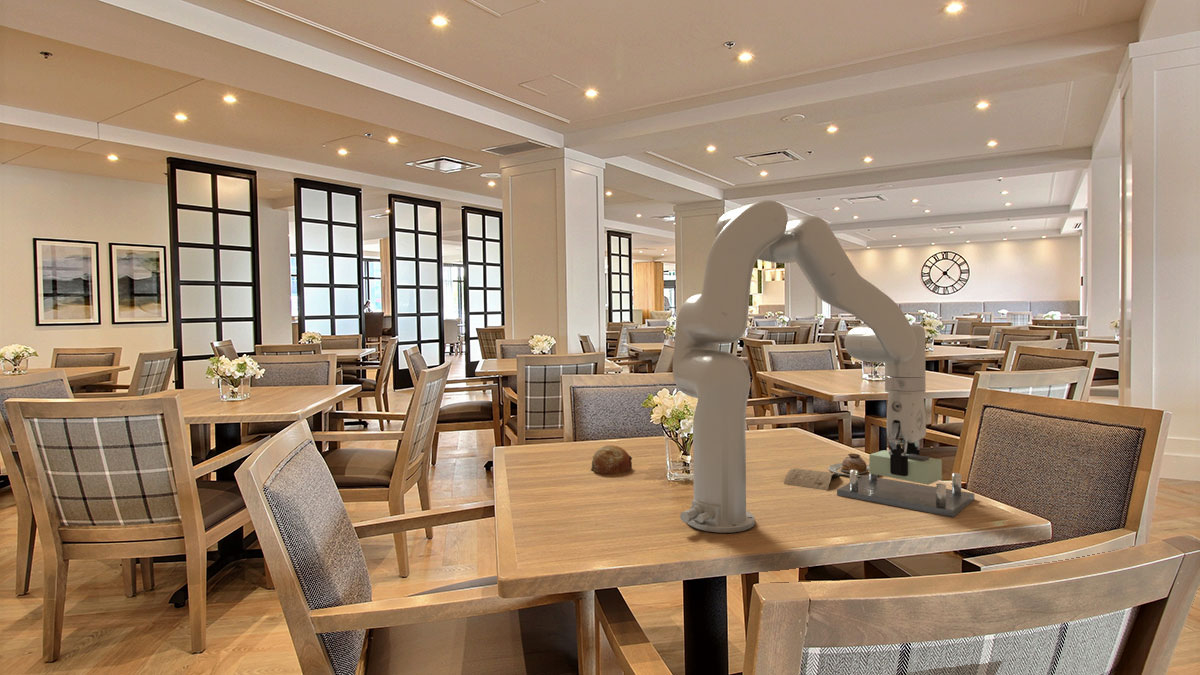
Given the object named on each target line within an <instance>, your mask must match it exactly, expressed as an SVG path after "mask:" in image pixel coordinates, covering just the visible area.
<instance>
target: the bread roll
mask: <svg viewBox="0 0 1200 675" xmlns="http://www.w3.org/2000/svg"><path fill="white" fill-rule="evenodd" d="M632 460H633V457H632V456H631V455H630V454H629V453H628V452H627V450H625V449H624V448H622V447H620V446H618V445H612V444H607V445H604V446H602V447H601V446H600V448H599V449H597V450H596V452H594V454H593V456H592V461H591V468H590V470H591V471H593V472H594V473H597V474H599V473H601V474H600V475H620V474H625V473H628V472H630V471H631V469H632V467H633V463H632ZM629 470H630V471H629ZM619 473H620V474H619Z"/></svg>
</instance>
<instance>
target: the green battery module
mask: <svg viewBox="0 0 1200 675" xmlns="http://www.w3.org/2000/svg"><path fill="white" fill-rule="evenodd" d="M906 456H908V475H907V476H900V475H894V474H891V473H890V449H888V450H886V449H885V450H879V451H877V452H873V453H870V454H869V455H868V457H869V461H868V465H869V471H868V473H869V472H870V473H871V474H876V475H877V476H881V477H882V476H883V477H886V478H890V479H891V478H892V479H896V480H901V481H905V482H910V483H915V484H921V485H926V486H930V485H931V484H934V483H936V482H939V481H941V480H943V475H942V474H943V467H942V466H943V460H942V459H940V458H936V457H935V458H934V457H930V456H929V455H928V456H927V455H916V454H906Z"/></svg>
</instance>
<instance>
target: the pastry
mask: <svg viewBox="0 0 1200 675" xmlns="http://www.w3.org/2000/svg"><path fill="white" fill-rule="evenodd" d="M840 468H841V469H840ZM838 469H839V470H840V472H839V470H838ZM828 470H829V471H830V473H833V472H834V473H838V474H839V476H843V475H844V477H850V474H849V473H850V470H858V478H859V477H860V478H861V477H862V476H863V475H864V474H866V473H869V464H867V463H866V461H865V459H863V458H862V457H861V455H860V454H858V453H848V455H847V456H846V457H845V458H843V460H842V462H838V463H834V464H831V465H830V466H828ZM837 470H838V471H837ZM845 472H846V473H845ZM865 476H869V474H867V475H865Z"/></svg>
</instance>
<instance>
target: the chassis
mask: <svg viewBox="0 0 1200 675" xmlns="http://www.w3.org/2000/svg"><path fill="white" fill-rule="evenodd" d="M849 475H850V476H849V483H847V484H844V485H843V486H840V487H839V488H837V489H836V496H838V497H844V498H850V499H856V500H859V501H860V500H861V501H865V502H866V501H867V502H871V503H875V504H882V505H887V506H892V507H898V508H903V509H908V510H912V511H919V512H924V513H929V514H934V515H940V516H944V517H945V516H946V517H949V518H955V517H956V516H957V515H958V514H959V513H960V512H962V511H963V510H964V509H965V508H966V507H967V506H969V504H971V503H972V502H973V501H974V500H975V492H968V491H962V473H960V472H959V473H958V472H952V473H951V489H948V488H947V485H946V484H945V483H936V486H932V485H931V486H930V485H927V484H921V483H915V482H909V481H903V480H901V481H900V480H895V479H888V478H884V477H883V478H882V477H878V475H876V474H871V473H870V472H869V471H868V475H869V476H866V475H864V474H863V475H861V476H862V477H861V478H859V477H858V470H850V474H849Z"/></svg>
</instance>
